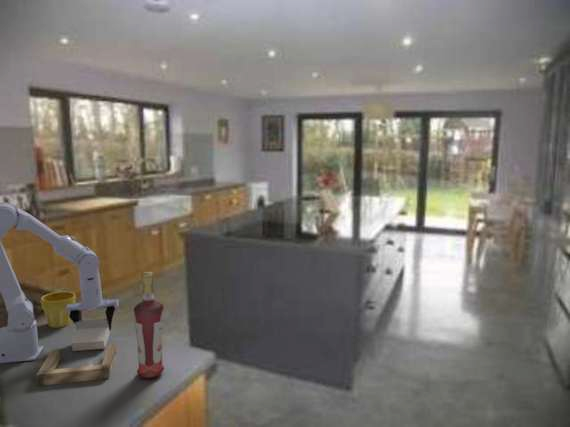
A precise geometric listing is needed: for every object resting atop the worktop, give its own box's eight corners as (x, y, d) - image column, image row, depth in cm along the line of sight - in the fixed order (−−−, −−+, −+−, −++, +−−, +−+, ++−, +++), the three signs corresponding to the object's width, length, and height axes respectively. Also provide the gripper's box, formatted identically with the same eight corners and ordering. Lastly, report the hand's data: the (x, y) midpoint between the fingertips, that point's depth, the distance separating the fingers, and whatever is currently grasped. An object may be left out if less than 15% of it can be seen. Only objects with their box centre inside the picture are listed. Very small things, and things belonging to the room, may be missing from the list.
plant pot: (83, 318, 151) (81, 291, 149) (65, 331, 140) (63, 302, 139) (55, 316, 152) (53, 290, 150) (35, 329, 141) (33, 300, 140)
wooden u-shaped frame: (37, 385, 109) (36, 374, 108) (52, 359, 122) (52, 349, 122) (109, 378, 113) (108, 367, 112) (116, 353, 126) (116, 343, 126)
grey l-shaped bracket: (73, 353, 127) (69, 336, 124) (79, 336, 133) (76, 320, 130) (105, 350, 128) (102, 334, 126) (110, 334, 135) (107, 318, 132)
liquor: (164, 380, 112) (161, 276, 108) (134, 383, 111) (130, 278, 106) (165, 366, 119) (163, 268, 115) (138, 368, 118) (134, 269, 113)
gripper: (61, 297, 126) (67, 340, 128) (114, 291, 129) (118, 333, 132) (67, 288, 132) (72, 329, 135) (117, 283, 136) (121, 323, 138)
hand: (95, 330), depth 134 cm, fingers open, 7 cm apart
